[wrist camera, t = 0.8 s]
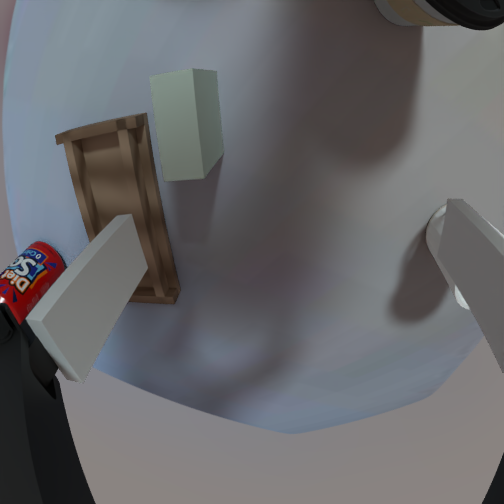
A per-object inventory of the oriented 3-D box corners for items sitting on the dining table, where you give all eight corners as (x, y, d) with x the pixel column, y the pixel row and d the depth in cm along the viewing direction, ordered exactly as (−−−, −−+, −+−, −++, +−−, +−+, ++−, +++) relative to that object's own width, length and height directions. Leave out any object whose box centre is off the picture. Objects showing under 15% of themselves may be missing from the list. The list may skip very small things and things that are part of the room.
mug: (485, 233, 33) (524, 277, 25) (437, 270, 37) (467, 322, 28) (456, 170, 30) (504, 206, 21) (402, 213, 34) (435, 262, 25)
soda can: (54, 285, 46) (7, 345, 33) (26, 250, 42) (-27, 306, 30) (75, 268, 43) (23, 334, 30) (45, 229, 40) (-17, 288, 27)
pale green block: (183, 75, 28) (148, 76, 20) (216, 70, 28) (192, 68, 20) (192, 155, 33) (163, 181, 25) (224, 152, 32) (204, 178, 25)
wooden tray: (69, 129, 31) (55, 135, 29) (146, 112, 30) (135, 116, 28) (113, 287, 44) (104, 300, 41) (180, 290, 43) (174, 304, 40)
